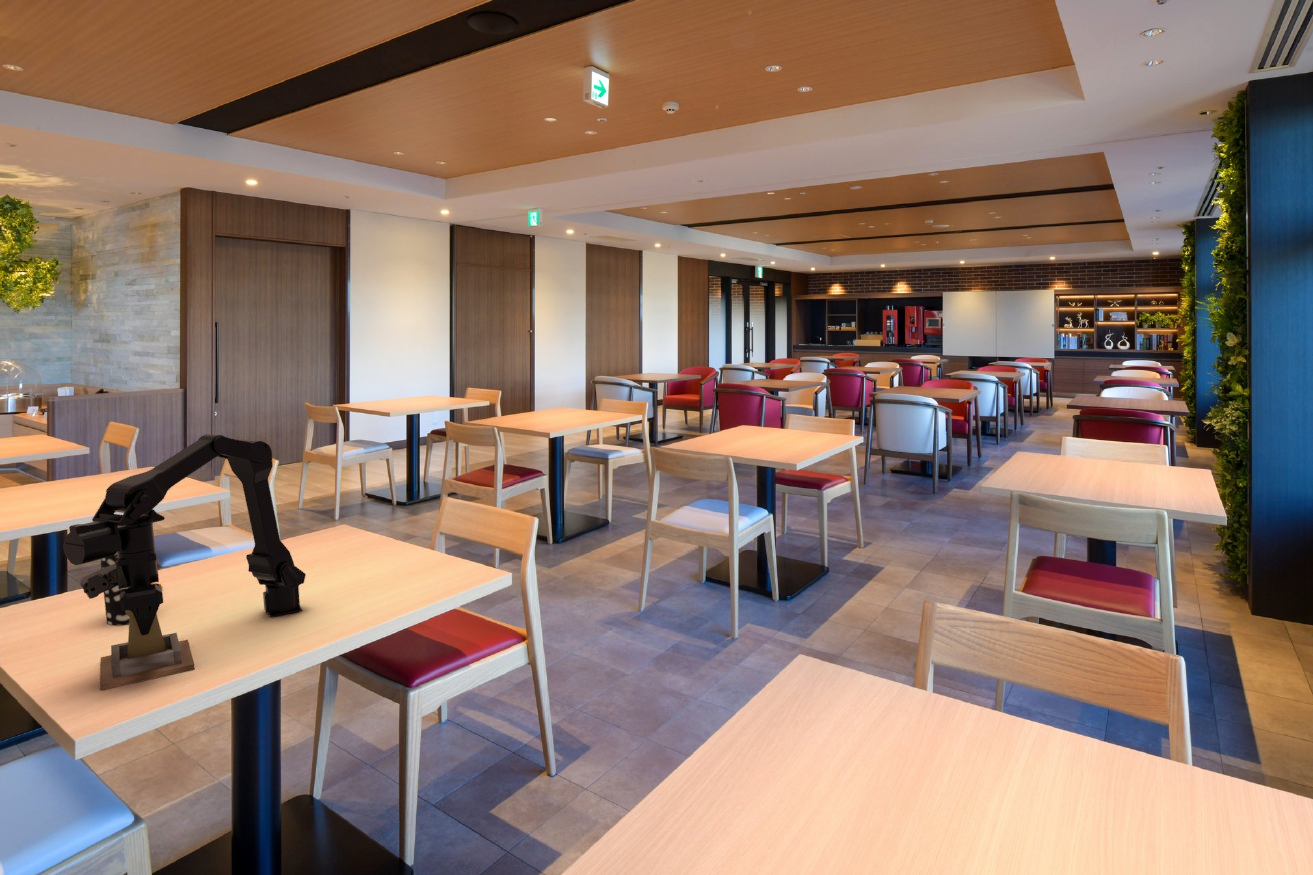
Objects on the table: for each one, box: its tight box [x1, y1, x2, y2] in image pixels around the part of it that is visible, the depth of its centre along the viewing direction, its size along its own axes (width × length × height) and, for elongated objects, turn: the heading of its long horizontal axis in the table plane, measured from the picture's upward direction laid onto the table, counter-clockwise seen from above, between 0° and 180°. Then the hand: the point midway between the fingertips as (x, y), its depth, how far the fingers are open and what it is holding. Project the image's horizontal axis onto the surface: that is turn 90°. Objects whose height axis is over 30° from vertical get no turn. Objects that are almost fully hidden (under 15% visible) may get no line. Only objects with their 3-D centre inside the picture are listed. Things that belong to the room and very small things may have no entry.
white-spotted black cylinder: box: [99, 553, 130, 626], centre depth 161 cm, size 8×8×20 cm
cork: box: [125, 610, 166, 659], centre depth 137 cm, size 6×6×11 cm
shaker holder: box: [99, 632, 196, 691], centre depth 138 cm, size 14×14×4 cm
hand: (144, 630), depth 138 cm, fingers closed on cork, 4 cm apart
